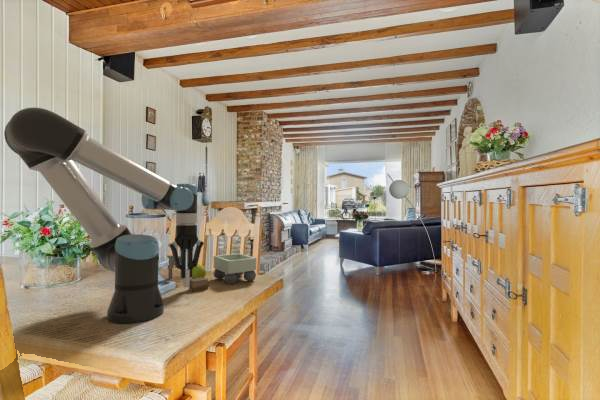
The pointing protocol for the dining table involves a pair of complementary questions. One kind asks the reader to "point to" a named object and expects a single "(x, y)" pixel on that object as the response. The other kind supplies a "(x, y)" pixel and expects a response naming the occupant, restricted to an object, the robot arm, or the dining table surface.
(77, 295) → the dining table surface
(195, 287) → the chock
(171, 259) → the mechanical component
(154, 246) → the robot arm
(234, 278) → the trolley
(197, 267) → the tennis ball
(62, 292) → the dining table surface
